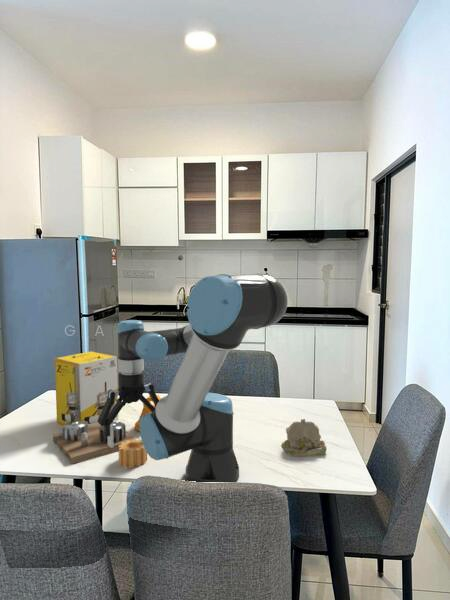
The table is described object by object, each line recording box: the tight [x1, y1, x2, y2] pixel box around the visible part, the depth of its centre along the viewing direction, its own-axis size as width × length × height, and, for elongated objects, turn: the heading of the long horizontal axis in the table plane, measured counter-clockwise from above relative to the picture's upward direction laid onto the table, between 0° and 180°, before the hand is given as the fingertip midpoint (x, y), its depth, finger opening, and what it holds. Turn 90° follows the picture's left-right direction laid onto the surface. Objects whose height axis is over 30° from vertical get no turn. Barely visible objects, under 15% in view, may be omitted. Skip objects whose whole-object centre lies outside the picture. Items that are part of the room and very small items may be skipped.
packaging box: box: [54, 350, 119, 426], centre depth 154 cm, size 16×16×25 cm
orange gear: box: [118, 438, 148, 469], centre depth 122 cm, size 8×8×5 cm
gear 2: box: [99, 421, 127, 443], centre depth 134 cm, size 8×8×5 cm
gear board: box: [52, 424, 136, 465], centre depth 135 cm, size 21×21×6 cm
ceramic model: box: [281, 418, 327, 458], centre depth 129 cm, size 14×11×10 cm
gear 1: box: [61, 413, 89, 441], centre depth 135 cm, size 8×8×7 cm
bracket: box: [134, 393, 162, 431], centre depth 147 cm, size 11×7×12 cm, turn 82°
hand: (132, 439), depth 122 cm, fingers open, 13 cm apart
